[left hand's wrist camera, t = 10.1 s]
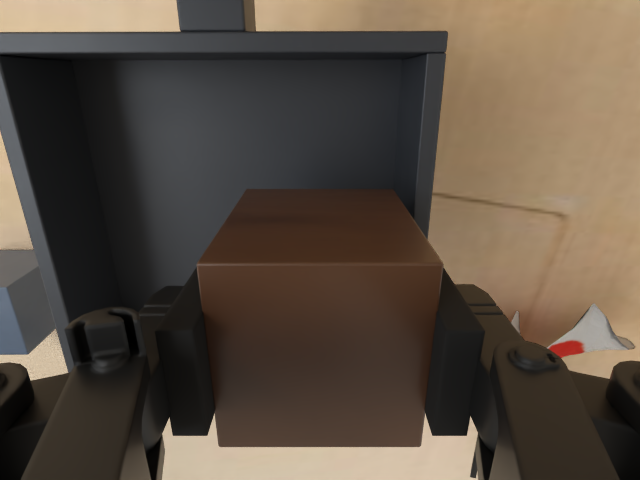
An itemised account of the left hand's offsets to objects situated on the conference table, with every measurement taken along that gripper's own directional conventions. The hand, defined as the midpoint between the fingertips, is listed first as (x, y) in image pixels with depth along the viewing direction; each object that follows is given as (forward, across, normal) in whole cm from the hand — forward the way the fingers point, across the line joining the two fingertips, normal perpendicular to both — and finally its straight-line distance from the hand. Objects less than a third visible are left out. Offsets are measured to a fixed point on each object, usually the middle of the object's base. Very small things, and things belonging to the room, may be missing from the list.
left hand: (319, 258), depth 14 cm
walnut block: (0, 0, 0) cm, 0 cm away
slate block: (+15, +22, +8) cm, 28 cm away
